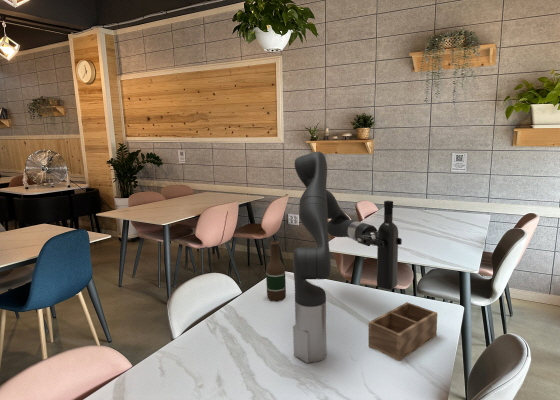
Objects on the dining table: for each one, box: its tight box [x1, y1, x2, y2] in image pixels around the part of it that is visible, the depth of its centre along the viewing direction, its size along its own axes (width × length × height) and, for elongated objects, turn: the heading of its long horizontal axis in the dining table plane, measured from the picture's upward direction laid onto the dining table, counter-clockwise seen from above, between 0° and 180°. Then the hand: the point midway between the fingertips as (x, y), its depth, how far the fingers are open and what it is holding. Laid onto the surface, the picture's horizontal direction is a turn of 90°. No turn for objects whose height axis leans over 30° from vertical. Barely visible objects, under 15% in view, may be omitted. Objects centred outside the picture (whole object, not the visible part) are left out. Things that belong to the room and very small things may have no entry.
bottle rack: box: [368, 301, 438, 362], centre depth 122 cm, size 21×11×8 cm, turn 130°
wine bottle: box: [376, 200, 399, 291], centre depth 131 cm, size 6×6×30 cm
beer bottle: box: [265, 240, 287, 303], centre depth 156 cm, size 8×8×24 cm
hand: (392, 243), depth 129 cm, fingers closed on wine bottle, 7 cm apart
